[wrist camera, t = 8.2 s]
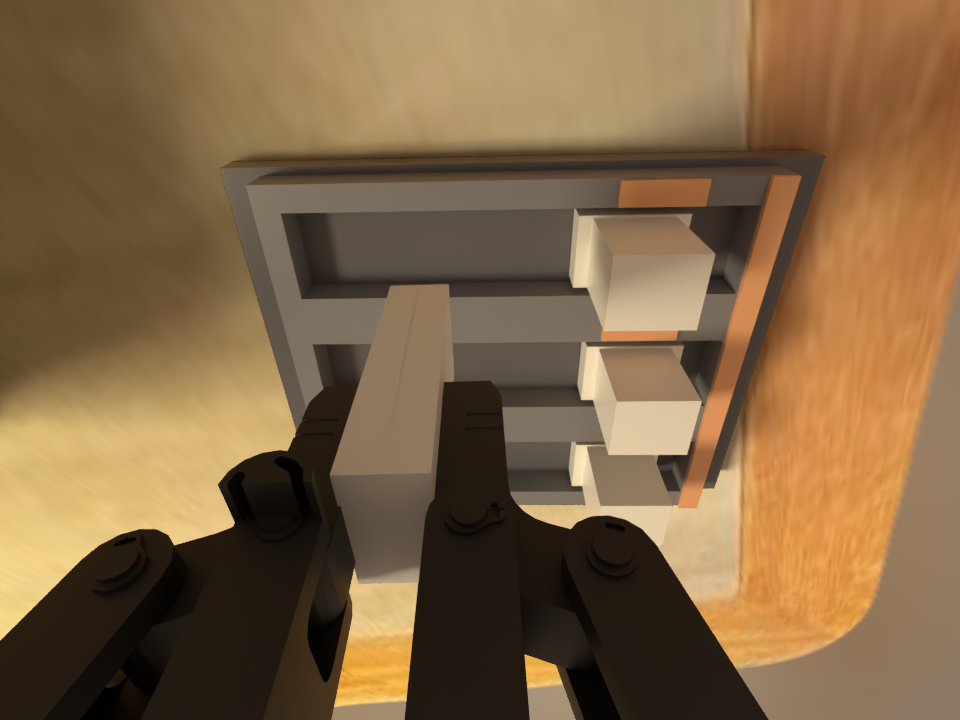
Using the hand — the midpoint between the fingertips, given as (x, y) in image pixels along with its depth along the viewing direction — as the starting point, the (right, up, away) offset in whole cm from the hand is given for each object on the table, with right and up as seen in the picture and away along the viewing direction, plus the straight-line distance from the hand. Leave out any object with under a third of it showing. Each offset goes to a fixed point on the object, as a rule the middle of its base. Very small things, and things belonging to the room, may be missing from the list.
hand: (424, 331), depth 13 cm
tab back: (+8, -5, +12) cm, 15 cm away
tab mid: (+8, -1, +9) cm, 12 cm away
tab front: (+7, +4, +6) cm, 10 cm away
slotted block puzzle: (+3, 0, +10) cm, 11 cm away
